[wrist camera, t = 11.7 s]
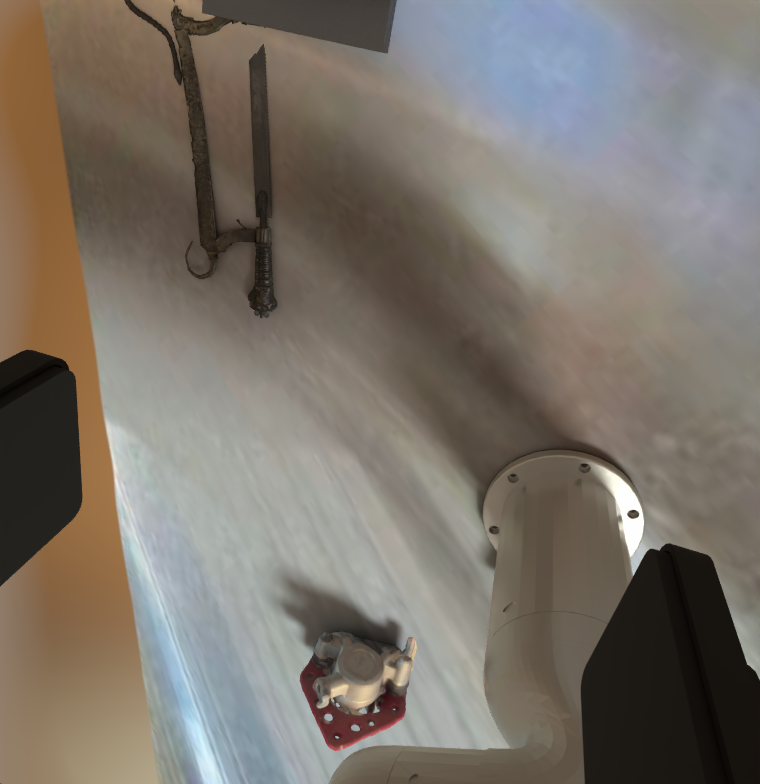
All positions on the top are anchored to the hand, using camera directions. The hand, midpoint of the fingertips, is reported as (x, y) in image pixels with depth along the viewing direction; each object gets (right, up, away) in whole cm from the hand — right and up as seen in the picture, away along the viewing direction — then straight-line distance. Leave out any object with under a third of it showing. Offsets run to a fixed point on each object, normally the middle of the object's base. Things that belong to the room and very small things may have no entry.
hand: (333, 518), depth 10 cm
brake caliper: (-1, -25, +55) cm, 60 cm away
